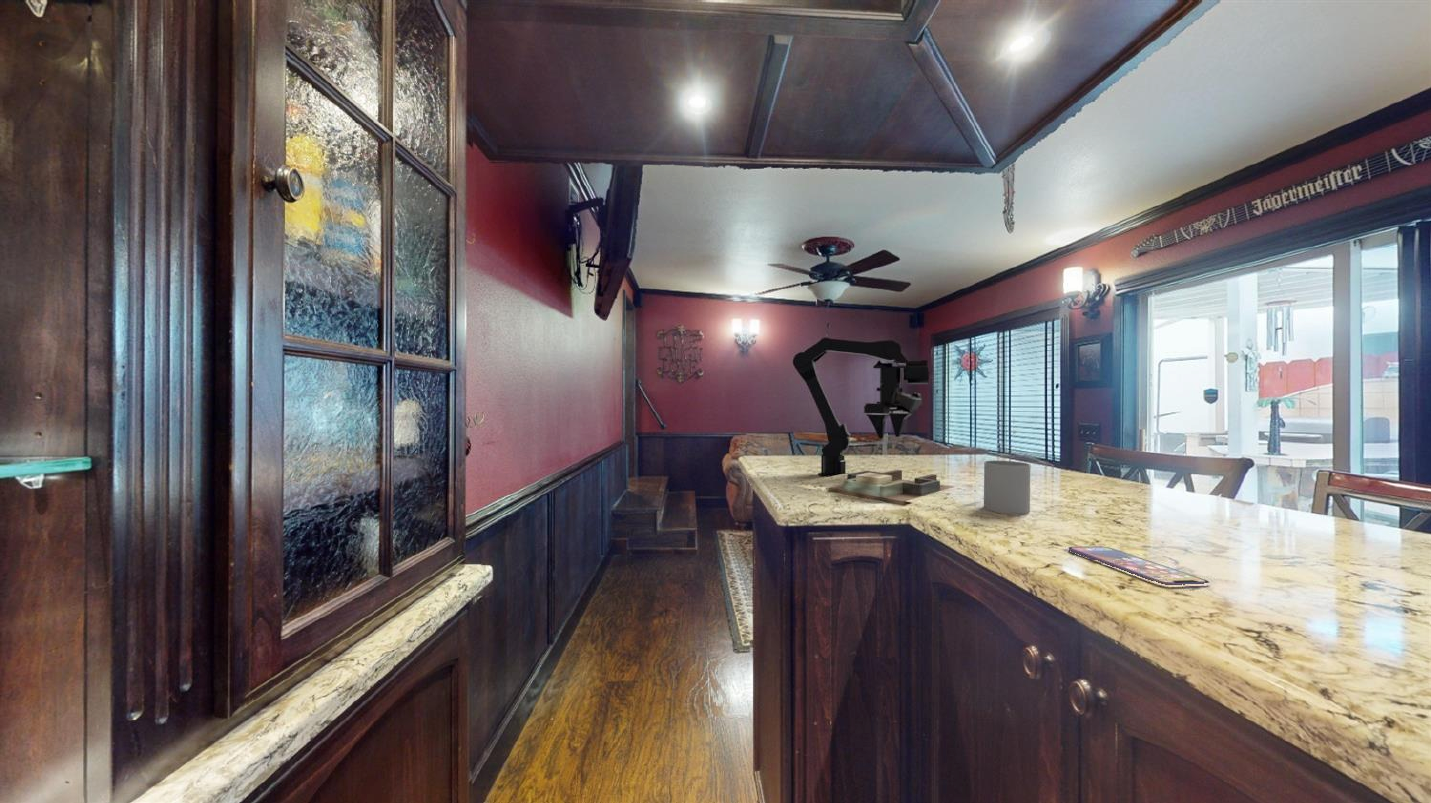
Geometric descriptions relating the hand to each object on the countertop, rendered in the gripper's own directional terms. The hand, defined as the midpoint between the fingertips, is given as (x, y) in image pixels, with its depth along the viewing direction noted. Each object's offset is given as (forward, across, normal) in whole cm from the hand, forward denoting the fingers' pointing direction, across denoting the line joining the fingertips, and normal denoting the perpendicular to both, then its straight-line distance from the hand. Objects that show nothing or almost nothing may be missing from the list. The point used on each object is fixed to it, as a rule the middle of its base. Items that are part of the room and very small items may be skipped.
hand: (889, 437), depth 140 cm
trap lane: (+12, -16, -10) cm, 23 cm away
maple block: (+11, -25, -10) cm, 29 cm away
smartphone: (+13, -40, -60) cm, 73 cm away
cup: (+12, -16, -36) cm, 41 cm away
